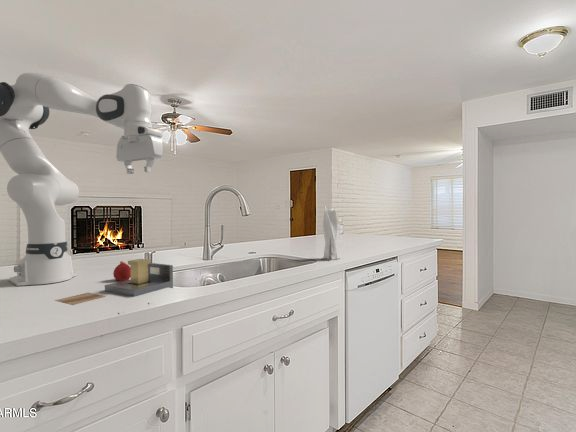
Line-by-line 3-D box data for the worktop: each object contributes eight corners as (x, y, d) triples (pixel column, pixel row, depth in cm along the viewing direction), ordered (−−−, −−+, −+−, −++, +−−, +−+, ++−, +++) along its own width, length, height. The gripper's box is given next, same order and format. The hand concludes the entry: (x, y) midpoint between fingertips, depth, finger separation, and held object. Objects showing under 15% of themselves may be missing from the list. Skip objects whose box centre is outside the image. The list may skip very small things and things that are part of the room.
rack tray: (104, 294, 96) (104, 268, 96) (144, 284, 109) (144, 262, 108) (134, 300, 90) (133, 273, 89) (173, 289, 102) (172, 265, 102)
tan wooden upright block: (128, 293, 98) (127, 260, 98) (141, 289, 102) (140, 258, 102) (138, 294, 96) (137, 261, 96) (150, 291, 100) (150, 259, 100)
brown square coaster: (54, 304, 86) (54, 300, 86) (88, 296, 94) (88, 292, 94) (72, 309, 82) (72, 304, 82) (106, 300, 90) (106, 296, 90)
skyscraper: (318, 258, 163) (318, 205, 163) (329, 257, 169) (328, 205, 168) (331, 260, 157) (331, 205, 157) (341, 259, 163) (341, 205, 162)
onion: (127, 280, 115) (127, 259, 115) (134, 283, 111) (134, 260, 111) (110, 283, 111) (110, 261, 110) (117, 286, 107) (117, 263, 107)
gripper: (111, 134, 110) (111, 173, 111) (150, 127, 101) (150, 170, 101) (127, 138, 116) (128, 175, 116) (165, 131, 106) (166, 172, 107)
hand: (138, 172), depth 109 cm, fingers open, 8 cm apart
